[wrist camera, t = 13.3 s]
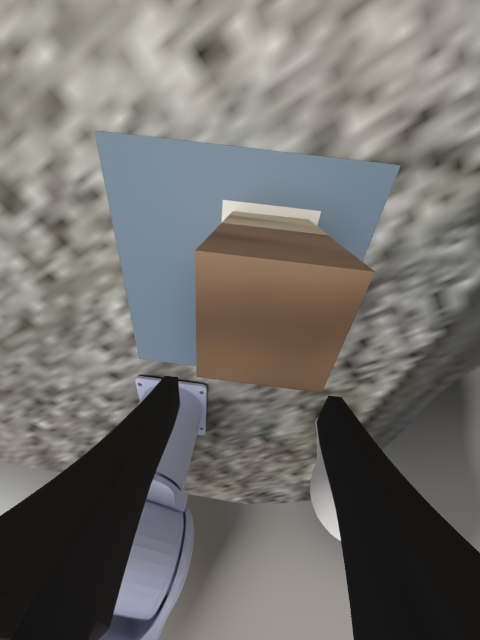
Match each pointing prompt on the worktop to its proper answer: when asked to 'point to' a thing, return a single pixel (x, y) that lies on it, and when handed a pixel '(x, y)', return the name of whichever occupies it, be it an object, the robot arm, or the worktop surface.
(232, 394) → the worktop surface
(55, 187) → the worktop surface
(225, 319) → the walnut block
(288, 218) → the maple block
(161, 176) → the board
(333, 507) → the lightbulb
